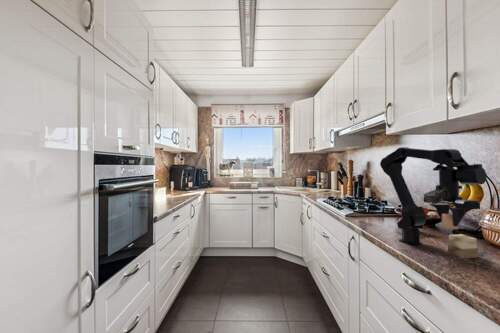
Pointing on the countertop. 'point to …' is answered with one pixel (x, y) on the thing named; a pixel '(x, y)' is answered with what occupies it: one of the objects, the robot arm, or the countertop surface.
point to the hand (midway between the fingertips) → (449, 224)
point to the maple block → (462, 241)
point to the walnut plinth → (463, 252)
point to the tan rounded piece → (448, 221)
